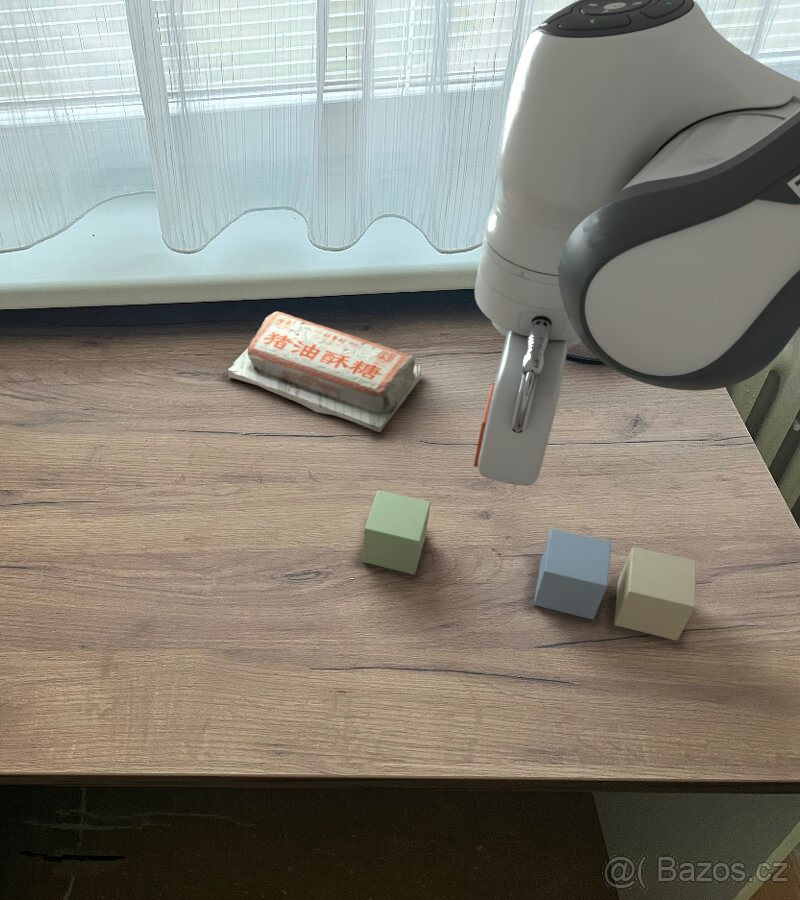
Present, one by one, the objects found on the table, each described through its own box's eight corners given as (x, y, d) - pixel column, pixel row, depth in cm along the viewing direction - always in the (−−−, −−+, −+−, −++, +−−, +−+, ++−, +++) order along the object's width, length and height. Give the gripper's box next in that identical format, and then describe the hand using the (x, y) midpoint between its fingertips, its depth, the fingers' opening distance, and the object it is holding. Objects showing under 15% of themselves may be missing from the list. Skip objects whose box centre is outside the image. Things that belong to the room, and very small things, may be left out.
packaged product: (428, 341, 87) (383, 400, 82) (424, 378, 90) (380, 437, 85) (273, 292, 95) (223, 343, 90) (274, 328, 99) (226, 378, 93)
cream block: (678, 595, 70) (696, 560, 66) (677, 641, 67) (695, 607, 64) (617, 580, 71) (632, 546, 68) (613, 625, 68) (628, 591, 65)
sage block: (425, 535, 76) (431, 501, 73) (414, 575, 73) (419, 541, 70) (374, 523, 77) (377, 489, 74) (361, 562, 75) (364, 528, 71)
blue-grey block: (597, 576, 72) (611, 541, 68) (593, 620, 69) (607, 586, 66) (540, 562, 73) (550, 528, 70) (533, 605, 70) (544, 571, 67)
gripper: (591, 392, 47) (541, 553, 56) (617, 201, 60) (573, 359, 69) (470, 371, 49) (442, 530, 58) (520, 190, 62) (491, 345, 71)
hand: (513, 435), depth 64 cm, fingers closed on coral block, 4 cm apart
